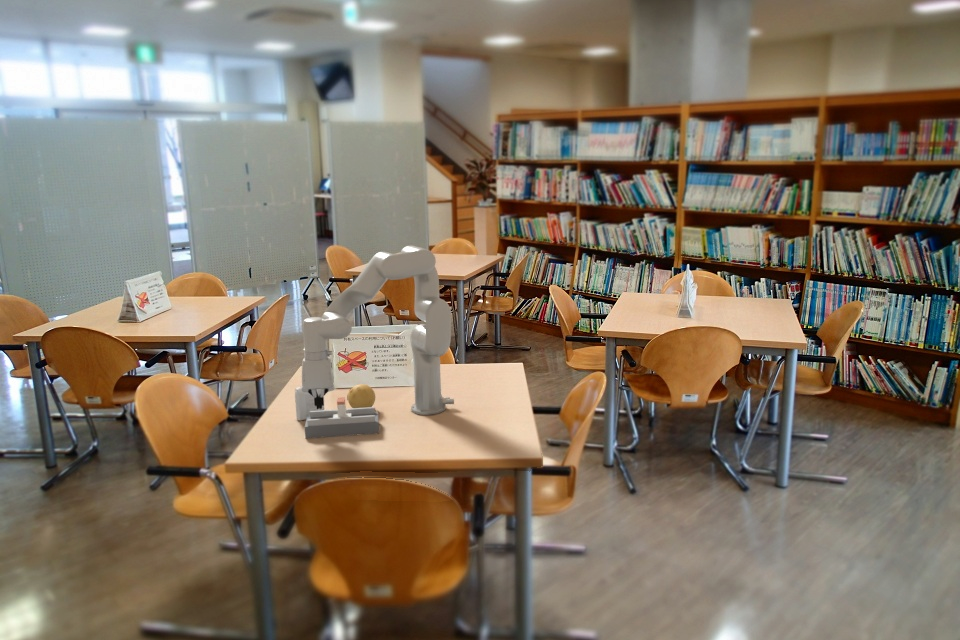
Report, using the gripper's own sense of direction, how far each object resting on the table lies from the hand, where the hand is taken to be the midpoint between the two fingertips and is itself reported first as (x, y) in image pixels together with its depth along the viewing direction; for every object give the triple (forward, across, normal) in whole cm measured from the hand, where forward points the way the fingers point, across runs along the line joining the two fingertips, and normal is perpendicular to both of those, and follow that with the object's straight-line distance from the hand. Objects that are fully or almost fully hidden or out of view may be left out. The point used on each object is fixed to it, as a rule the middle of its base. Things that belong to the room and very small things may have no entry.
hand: (319, 407), depth 243 cm
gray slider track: (+9, -7, 0) cm, 11 cm away
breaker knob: (+4, -7, 0) cm, 9 cm away
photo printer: (+9, +5, -15) cm, 18 cm away
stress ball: (+9, -13, -18) cm, 24 cm away
